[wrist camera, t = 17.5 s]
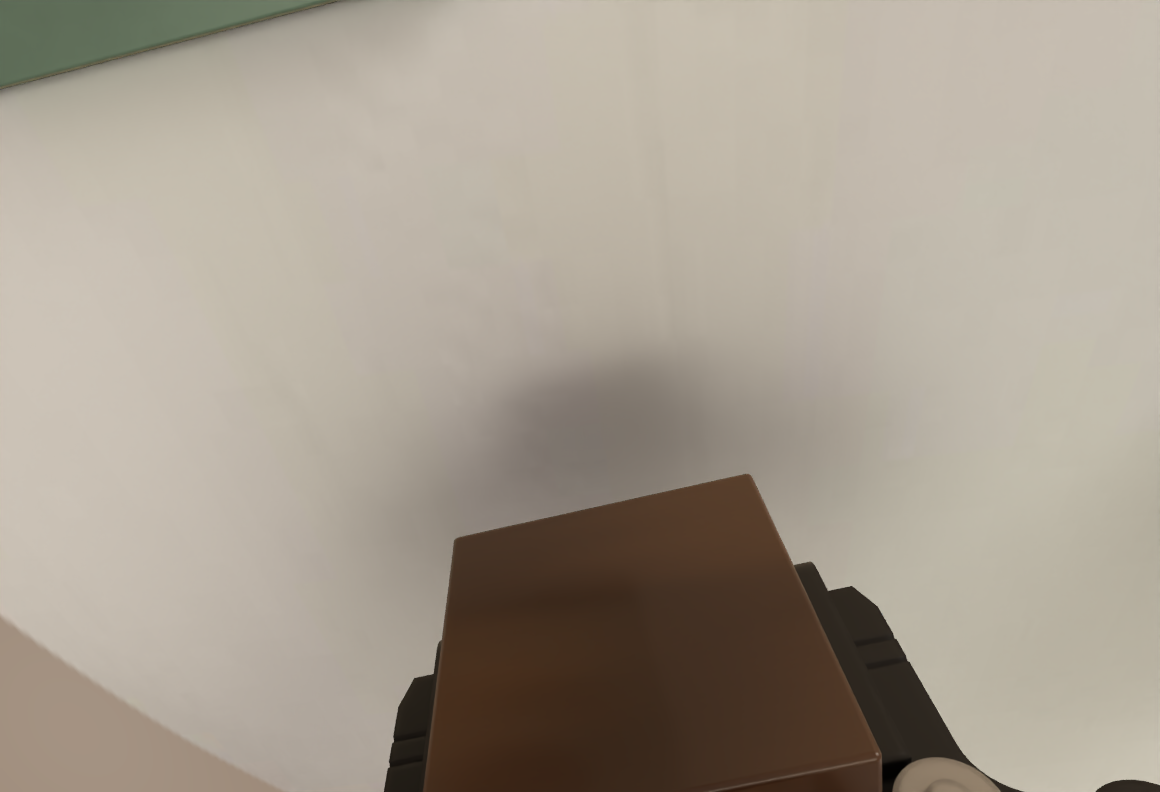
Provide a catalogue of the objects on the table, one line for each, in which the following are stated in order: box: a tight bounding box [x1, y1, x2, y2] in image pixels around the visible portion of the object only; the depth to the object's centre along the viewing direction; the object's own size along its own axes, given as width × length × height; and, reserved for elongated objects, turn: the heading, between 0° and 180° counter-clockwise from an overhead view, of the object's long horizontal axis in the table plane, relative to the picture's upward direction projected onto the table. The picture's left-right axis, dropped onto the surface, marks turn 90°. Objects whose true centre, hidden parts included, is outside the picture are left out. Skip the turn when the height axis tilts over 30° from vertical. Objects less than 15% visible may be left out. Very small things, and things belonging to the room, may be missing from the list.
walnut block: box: [423, 474, 882, 792], centre depth 11 cm, size 5×5×5 cm
